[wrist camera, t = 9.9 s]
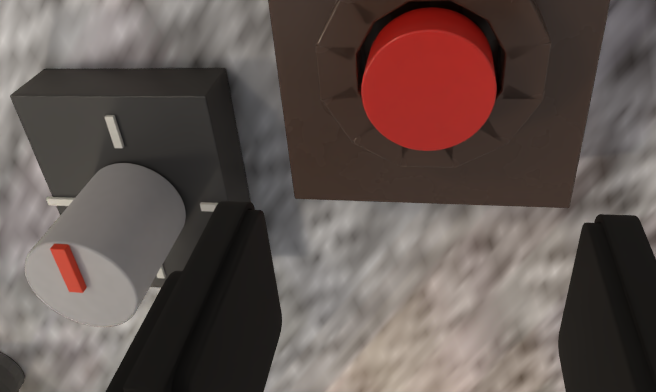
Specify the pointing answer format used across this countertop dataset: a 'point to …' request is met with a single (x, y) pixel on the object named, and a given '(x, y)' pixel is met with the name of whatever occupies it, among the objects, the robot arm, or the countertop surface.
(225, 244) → the robot arm
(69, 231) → the dial
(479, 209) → the countertop surface
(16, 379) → the beverage cup
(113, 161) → the knob
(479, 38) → the power button
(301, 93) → the power button base
